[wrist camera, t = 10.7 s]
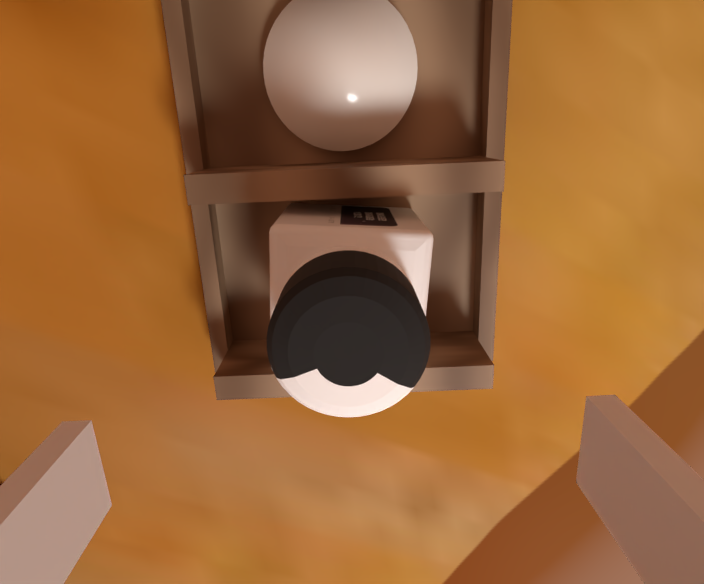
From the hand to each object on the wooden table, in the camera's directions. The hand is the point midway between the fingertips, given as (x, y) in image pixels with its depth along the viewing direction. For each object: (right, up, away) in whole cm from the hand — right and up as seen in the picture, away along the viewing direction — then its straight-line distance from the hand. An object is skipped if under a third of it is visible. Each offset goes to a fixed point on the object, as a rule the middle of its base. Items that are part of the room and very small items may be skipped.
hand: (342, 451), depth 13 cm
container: (0, +6, +18) cm, 19 cm away
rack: (0, +12, +17) cm, 21 cm away
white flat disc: (0, +17, +14) cm, 22 cm away
